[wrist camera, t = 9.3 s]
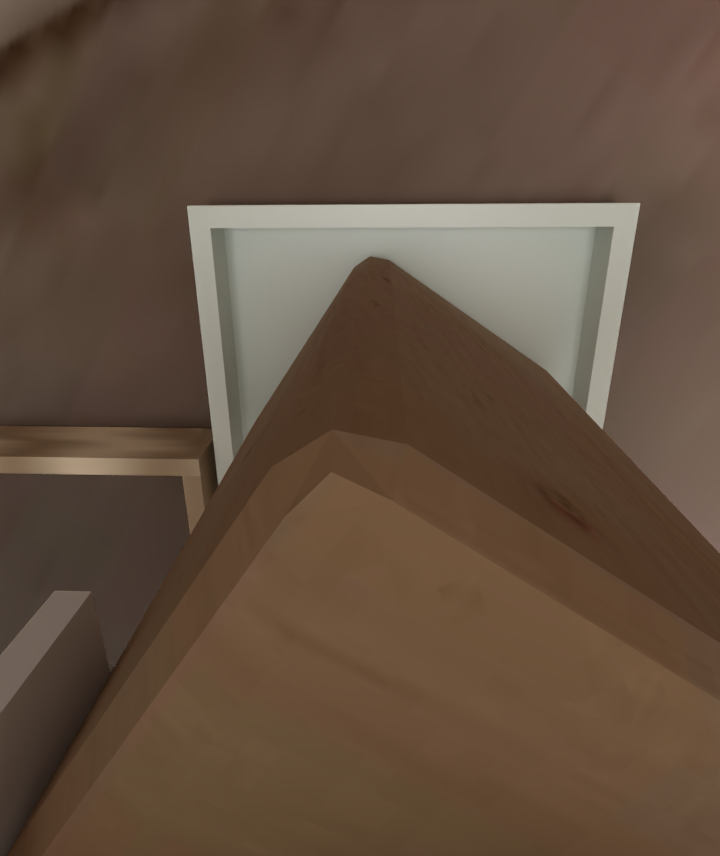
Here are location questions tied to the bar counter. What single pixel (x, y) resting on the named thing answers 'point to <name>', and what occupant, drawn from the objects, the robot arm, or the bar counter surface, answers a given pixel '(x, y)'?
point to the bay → (117, 455)
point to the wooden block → (412, 627)
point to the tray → (428, 263)
